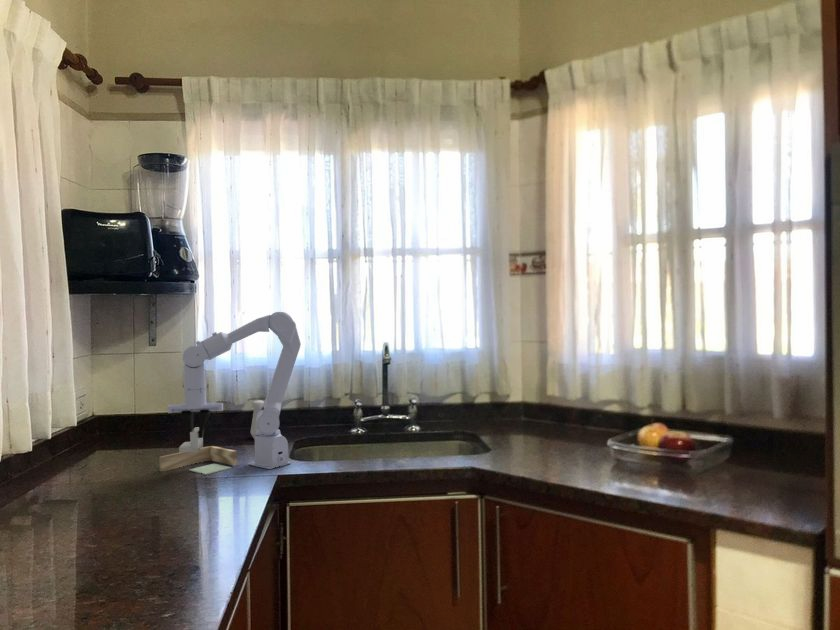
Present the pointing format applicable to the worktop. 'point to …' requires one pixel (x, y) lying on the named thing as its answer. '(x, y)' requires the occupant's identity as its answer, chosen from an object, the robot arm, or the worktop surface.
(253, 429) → the salt shaker
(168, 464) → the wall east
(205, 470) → the pad
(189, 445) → the bracket
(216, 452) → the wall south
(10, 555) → the worktop surface
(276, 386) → the robot arm
